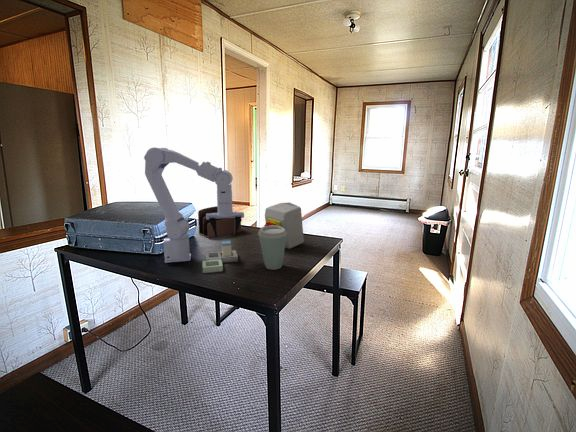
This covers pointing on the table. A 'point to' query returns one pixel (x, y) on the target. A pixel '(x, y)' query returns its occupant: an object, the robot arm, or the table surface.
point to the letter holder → (222, 224)
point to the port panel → (224, 258)
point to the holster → (212, 266)
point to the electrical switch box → (286, 222)
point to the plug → (226, 248)
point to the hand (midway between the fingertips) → (225, 235)
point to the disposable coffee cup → (272, 245)
